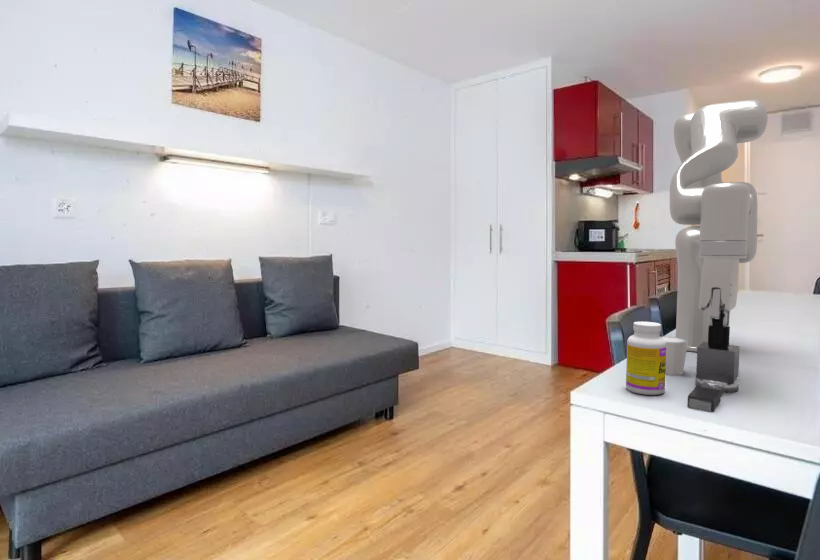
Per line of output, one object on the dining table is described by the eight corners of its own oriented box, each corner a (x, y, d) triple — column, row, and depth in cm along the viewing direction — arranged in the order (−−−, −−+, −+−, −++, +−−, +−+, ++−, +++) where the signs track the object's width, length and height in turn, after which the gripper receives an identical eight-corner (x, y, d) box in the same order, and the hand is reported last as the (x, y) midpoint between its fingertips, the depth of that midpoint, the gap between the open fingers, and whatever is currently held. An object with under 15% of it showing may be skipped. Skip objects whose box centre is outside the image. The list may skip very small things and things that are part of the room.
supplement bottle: (663, 398, 87) (665, 327, 86) (623, 392, 90) (625, 324, 89) (666, 388, 93) (668, 322, 91) (628, 383, 96) (630, 319, 95)
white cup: (691, 376, 101) (692, 343, 100) (655, 374, 102) (656, 342, 101) (680, 367, 107) (681, 336, 107) (646, 366, 109) (647, 335, 108)
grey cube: (702, 371, 97) (703, 342, 97) (738, 376, 93) (739, 346, 93) (696, 378, 93) (697, 347, 92) (733, 384, 89) (735, 351, 88)
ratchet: (699, 380, 98) (700, 351, 97) (741, 387, 93) (742, 356, 93) (676, 405, 83) (677, 371, 83) (724, 415, 79) (725, 379, 78)
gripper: (707, 249, 99) (703, 338, 100) (691, 251, 88) (687, 351, 89) (751, 249, 94) (747, 342, 95) (741, 251, 83) (736, 357, 84)
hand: (718, 346), depth 92 cm, fingers closed
